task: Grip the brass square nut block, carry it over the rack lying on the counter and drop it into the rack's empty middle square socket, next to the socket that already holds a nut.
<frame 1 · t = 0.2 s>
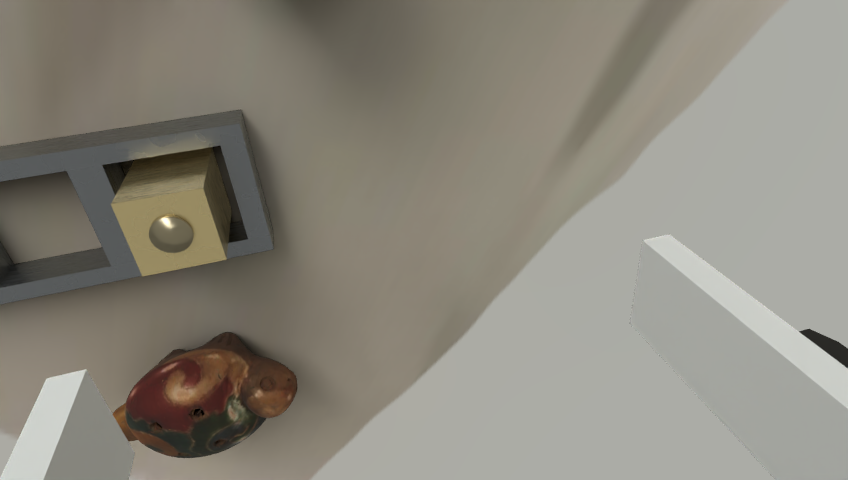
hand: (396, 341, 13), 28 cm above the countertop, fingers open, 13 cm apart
decorative turtle: (209, 364, 46), on the countertop
rack: (45, 210, 36), on the countertop
seated nut: (185, 185, 38), resting in rack
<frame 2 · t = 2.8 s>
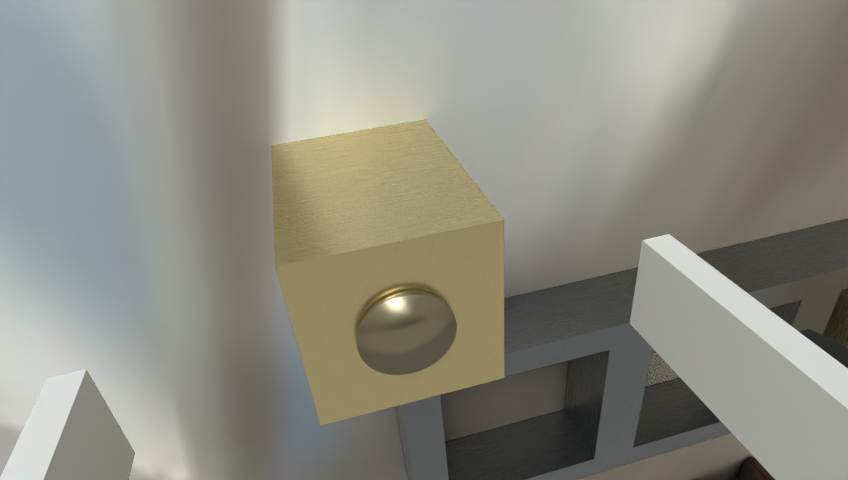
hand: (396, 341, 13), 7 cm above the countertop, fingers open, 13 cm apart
brass nut: (361, 200, 19), on the countertop
rack: (670, 334, 26), on the countertop
seated nut: (822, 293, 28), resting in rack
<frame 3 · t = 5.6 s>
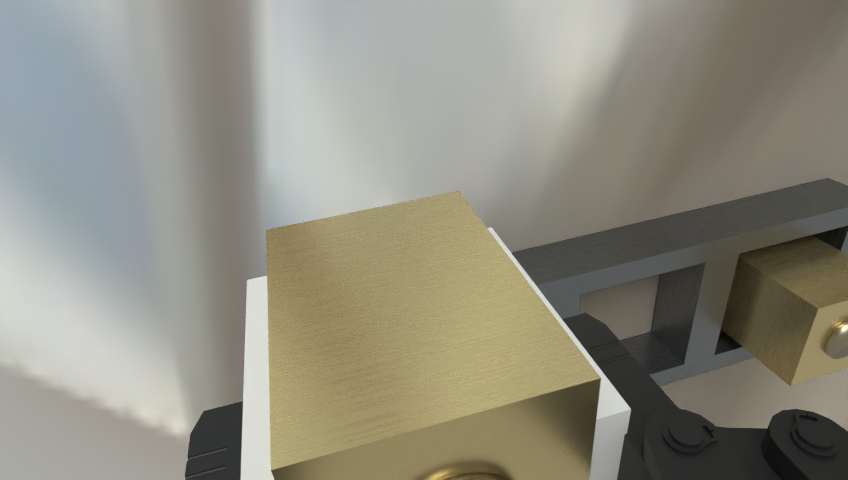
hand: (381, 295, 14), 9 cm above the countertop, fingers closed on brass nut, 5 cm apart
brass nut: (378, 288, 15), point 9 cm above the countertop, touching gripper
rack: (605, 300, 31), on the countertop
seated nut: (737, 264, 32), resting in rack
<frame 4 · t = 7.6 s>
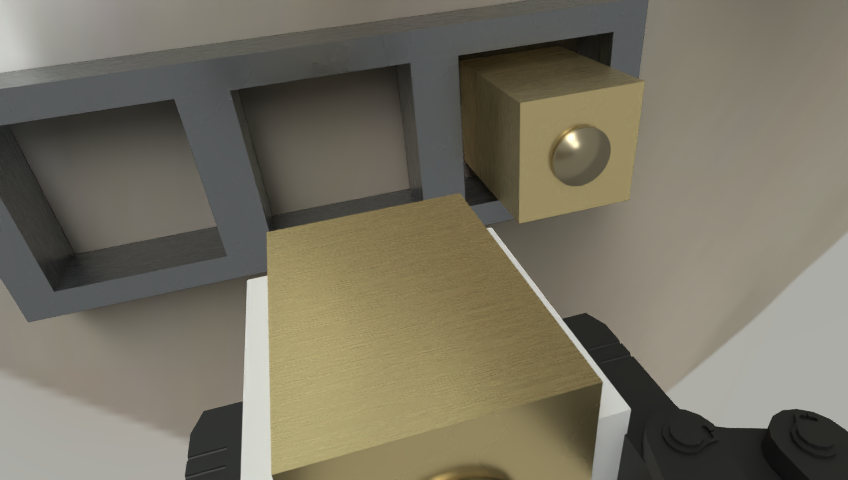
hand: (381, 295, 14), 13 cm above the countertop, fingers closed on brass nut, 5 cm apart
brass nut: (379, 290, 15), point 12 cm above the countertop, touching gripper
rack: (330, 136, 25), on the countertop
seated nut: (509, 104, 27), resting in rack
when the fingers open (3 cm above the countertop, at t = 9.8 s): brass nut drops 3 cm, resting in rack.
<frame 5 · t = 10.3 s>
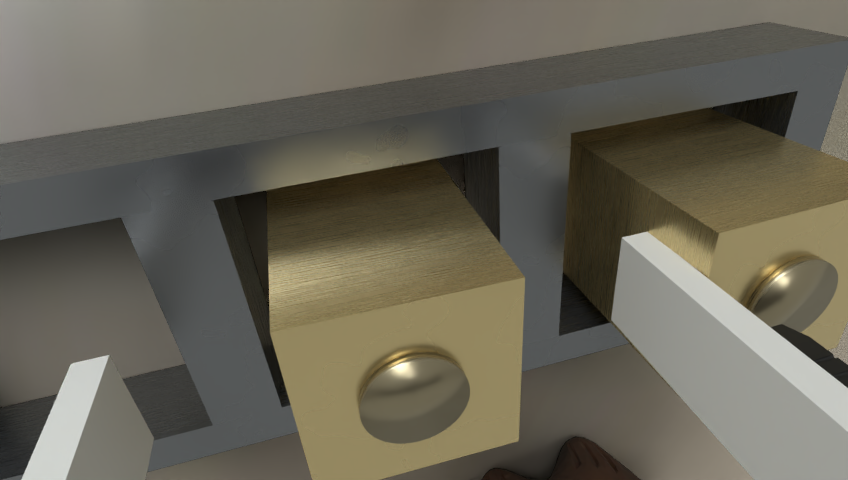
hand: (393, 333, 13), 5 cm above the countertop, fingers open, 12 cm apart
brass nut: (362, 236, 17), resting in rack
rack: (363, 235, 17), on the countertop
seated nut: (618, 183, 19), resting in rack, touching gripper
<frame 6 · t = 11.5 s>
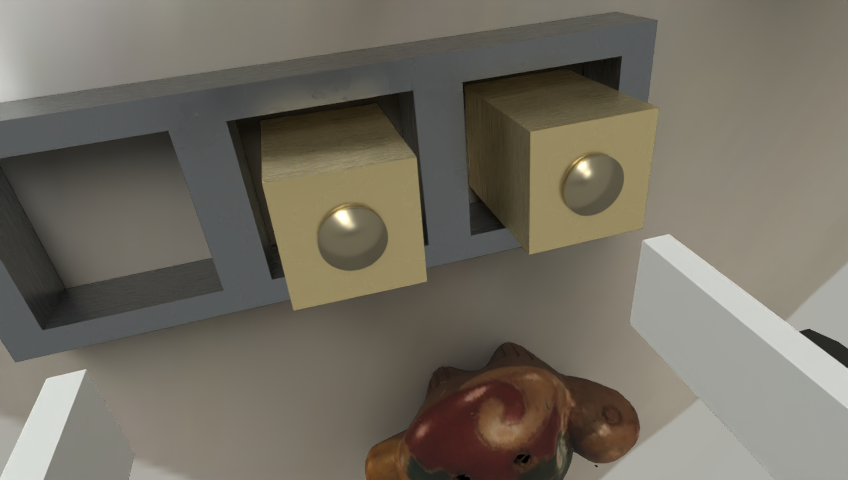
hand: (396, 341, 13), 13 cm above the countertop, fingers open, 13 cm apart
brass nut: (329, 165, 24), resting in rack
decorative turtle: (470, 386, 34), on the countertop
rack: (330, 164, 24), on the countertop
seated nut: (515, 128, 26), resting in rack
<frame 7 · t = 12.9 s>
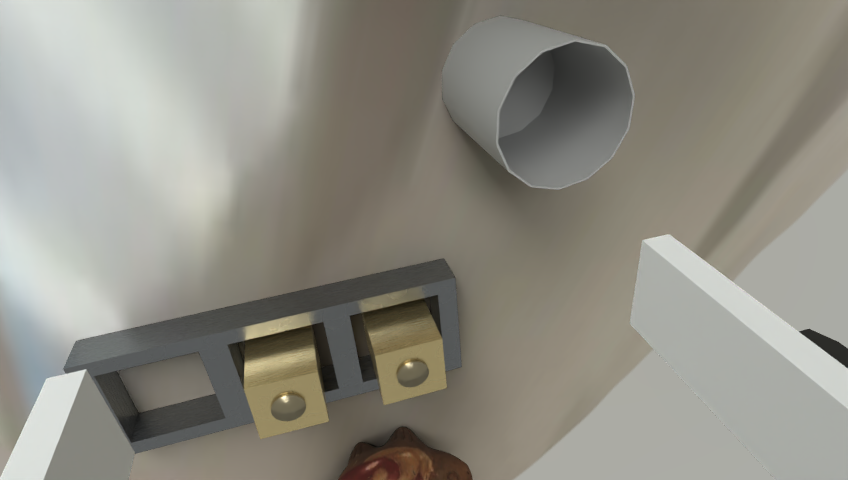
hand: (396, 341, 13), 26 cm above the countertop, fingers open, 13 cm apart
brass nut: (284, 343, 44), resting in rack
decorative turtle: (381, 451, 53), on the countertop
rack: (284, 343, 44), on the countertop
seated nut: (392, 316, 45), resting in rack
cup: (496, 79, 38), on the countertop
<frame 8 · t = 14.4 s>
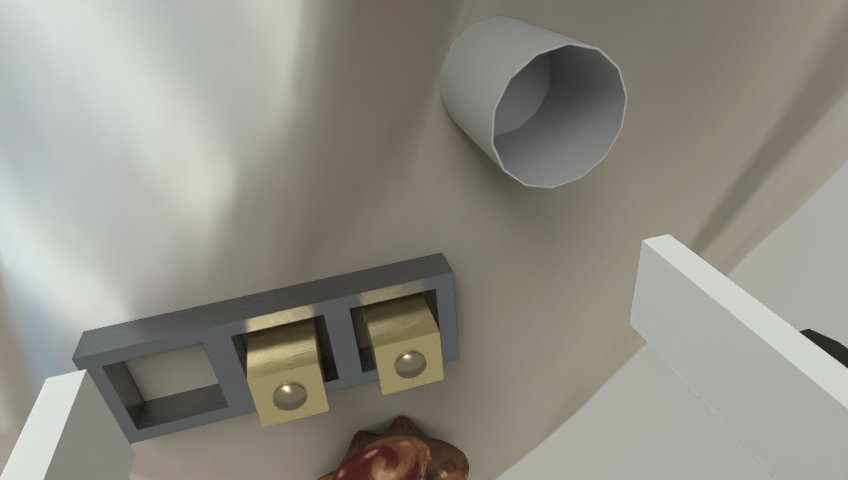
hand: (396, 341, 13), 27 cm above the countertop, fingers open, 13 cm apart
brass nut: (285, 335, 45), resting in rack
decorative turtle: (380, 440, 55), on the countertop
rack: (286, 334, 45), on the countertop
seated nut: (391, 309, 46), resting in rack
cup: (494, 77, 39), on the countertop
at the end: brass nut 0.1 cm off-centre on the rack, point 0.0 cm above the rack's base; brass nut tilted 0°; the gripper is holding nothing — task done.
